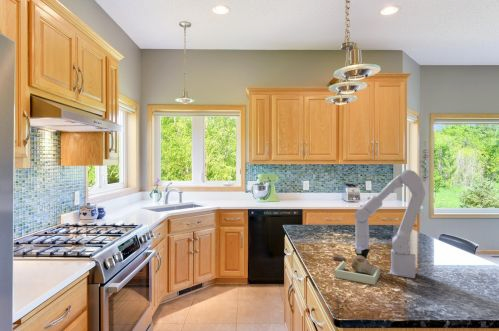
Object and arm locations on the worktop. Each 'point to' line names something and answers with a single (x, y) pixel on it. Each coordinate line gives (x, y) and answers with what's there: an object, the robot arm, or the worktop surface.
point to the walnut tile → (338, 257)
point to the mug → (363, 265)
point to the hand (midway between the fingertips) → (362, 265)
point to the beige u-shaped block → (356, 275)
